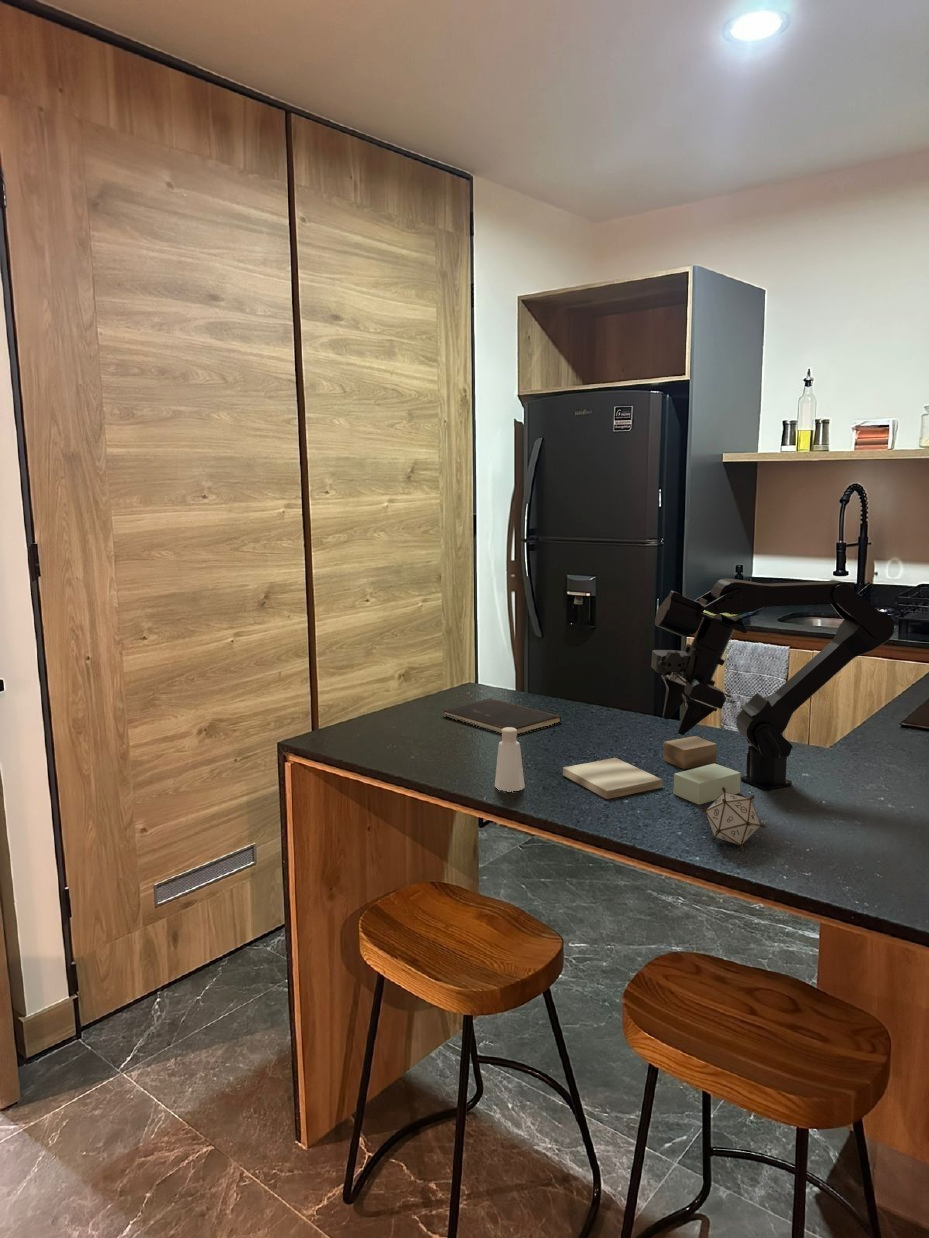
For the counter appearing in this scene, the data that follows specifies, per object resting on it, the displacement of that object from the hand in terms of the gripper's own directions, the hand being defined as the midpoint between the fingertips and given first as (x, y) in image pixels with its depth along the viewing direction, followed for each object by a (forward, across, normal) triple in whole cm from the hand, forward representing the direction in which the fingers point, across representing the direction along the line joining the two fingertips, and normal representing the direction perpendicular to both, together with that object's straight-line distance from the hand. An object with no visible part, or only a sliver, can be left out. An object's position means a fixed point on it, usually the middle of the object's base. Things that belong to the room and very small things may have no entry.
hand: (672, 726), depth 156 cm
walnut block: (+8, -12, +11) cm, 18 cm away
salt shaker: (+22, -1, -23) cm, 31 cm away
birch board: (+14, -2, -5) cm, 15 cm away
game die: (+9, +26, +6) cm, 28 cm away
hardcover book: (+22, -45, -20) cm, 54 cm away
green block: (+8, +5, +9) cm, 13 cm away
